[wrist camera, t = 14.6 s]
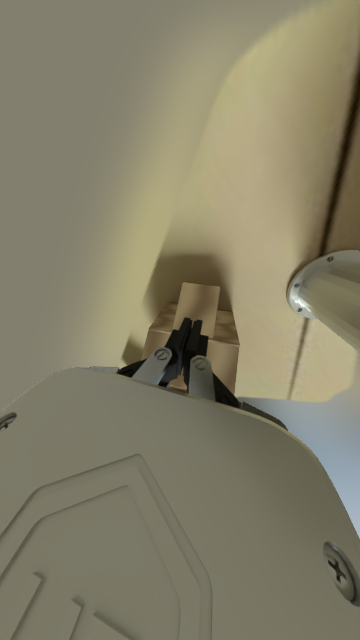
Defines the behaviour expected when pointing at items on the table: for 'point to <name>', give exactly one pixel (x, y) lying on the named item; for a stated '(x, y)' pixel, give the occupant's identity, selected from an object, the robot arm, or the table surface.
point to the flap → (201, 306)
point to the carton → (222, 330)
